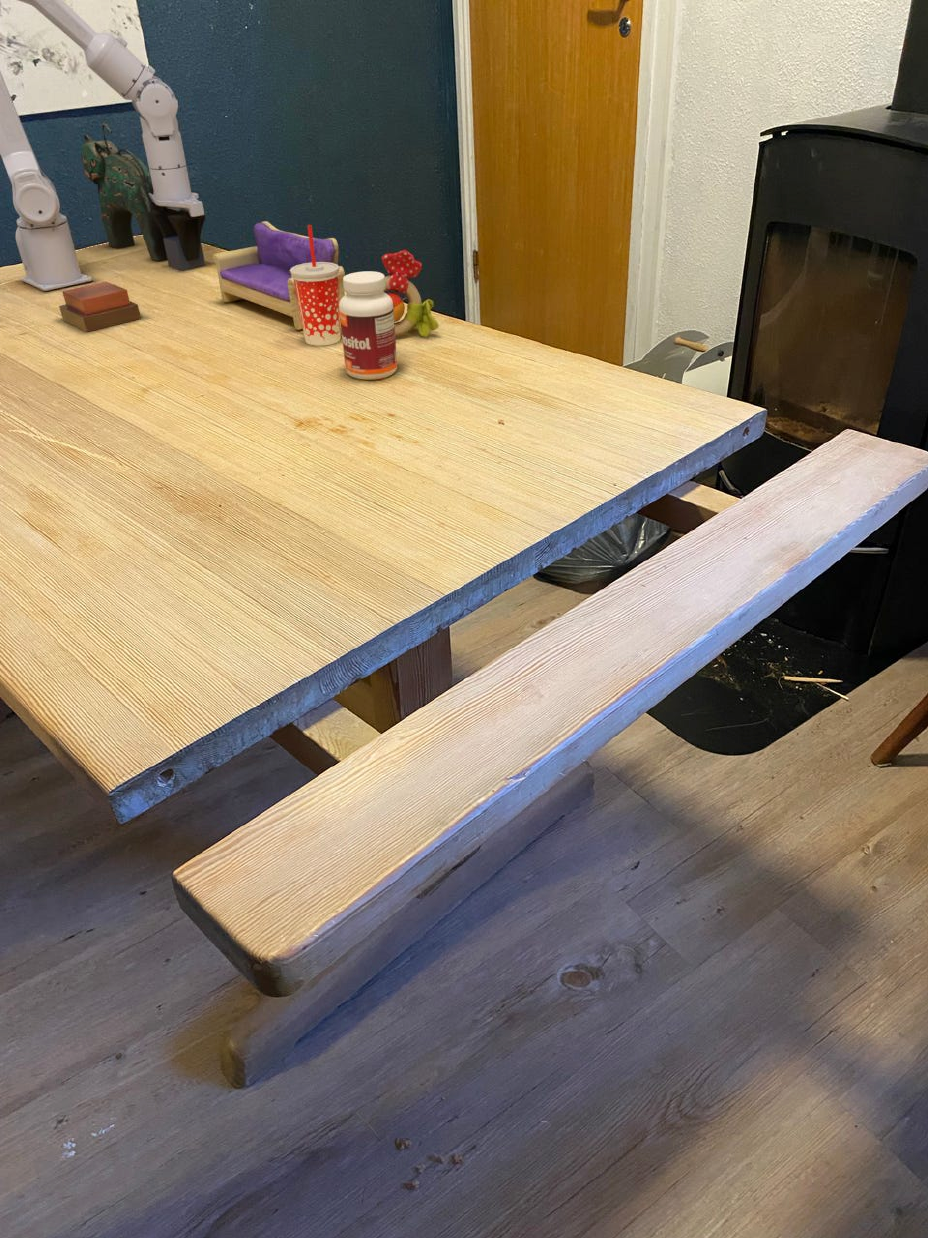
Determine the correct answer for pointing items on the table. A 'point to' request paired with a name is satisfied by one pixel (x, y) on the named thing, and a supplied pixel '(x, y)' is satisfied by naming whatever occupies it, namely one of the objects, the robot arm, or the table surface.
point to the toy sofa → (272, 269)
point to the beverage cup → (318, 299)
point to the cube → (181, 255)
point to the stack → (98, 306)
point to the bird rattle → (407, 294)
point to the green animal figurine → (122, 194)
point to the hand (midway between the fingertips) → (185, 256)
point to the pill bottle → (367, 326)
